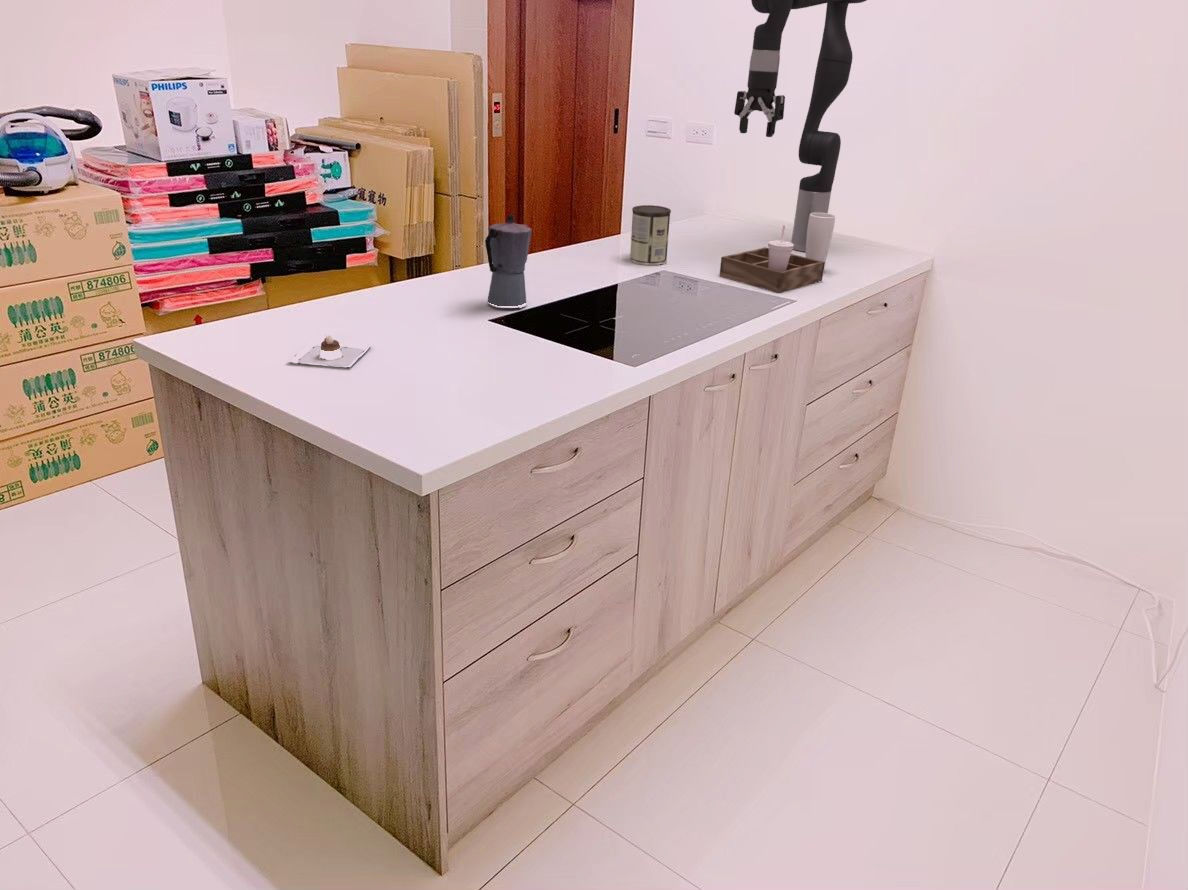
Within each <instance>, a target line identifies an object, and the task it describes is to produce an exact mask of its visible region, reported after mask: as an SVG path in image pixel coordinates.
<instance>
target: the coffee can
mask: <svg viewBox="0 0 1188 890" xmlns="http://www.w3.org/2000/svg"><path fill="white" fill-rule="evenodd" d="M631 208H632V209H631V210H632V219H631V232H630V233H631V234H630V236H631V237H630V250H629V251H630V252H629V253H630V254H629V261H630V262H631V263H633V264H636V265H641V266H650V265H654V266H661V265H660V264H662V265H665V264H666V263H667V262H668V261H667V258H668V246H669V245H668V243H669V231H670V219H671V212H672V210H671V209H670V208H669V207H666V206H660V205H652V204H648V205H647V204H646V205H645V204H644V205H636V206H633V207H631ZM664 263H665V264H664Z"/></svg>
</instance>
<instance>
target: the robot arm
mask: <svg viewBox="0 0 1188 890" xmlns="http://www.w3.org/2000/svg"><path fill="white" fill-rule="evenodd" d="M866 1H867V0H751V6H752V7H753V9H754V10H755V11H756V12H758V13H760V14H768V15H767V18H766V20H765V22H764V23H761V24H759V25H756V26H755V28H754V31H753V32H754V33H753V40H752V41H753V42H752V50H751V55H750V57H749V58H750V60H749V67H748V77H747V85H746V86H747V88H748V89H747V91H745V90H738V91H737V93H736V98H735V106H734V111H733V113H734V115H735V116H738V117H739V128H738V130H739V134H747V133H748V125H749V117H750V115H751V113H753V112H754V111H758V112H763V114H764V115H765V116H766V119H767V124H766V131H765V137H766V138H773V136H774V135H775V132H776V125H777V122H779V121H782V120H783V119H784V115H785V113H784V111H785V103H786V97H785V95H781V94H780V95H776V93H775V91H776V89H777V85H778V77H779V69H780V68H779V67H780V61H781V60H780V59H781V58H780V57H781V53H780V52H781V51H780V50H781V45H782V39H783V37H782V35H783V33H784V32H783V31H784V29H785V27H786V23H787V21H788V19H789V16H790V13H791V10H799V9H800V10H801V9H806V8H810V7H815V6H819V5H824V4H826V10H825V12H826V13H825V17H824V18H825V19H824V27H823V33H822V39H821V43H820V44H821V45H820V49H819V54H818V58H817V63H816V69H815V74H814V79H813V86H812V91H811V97H810V101H809V107H808V112H807V114H806V119H805V122H804V126H803V130H802V133H801V138H800V140H799V146H798V160H799V161H800V163H801V164H806V165H813V166H820V170H819V172H817V173H815V174H813V175H808V176H805V177H802V178H801V179H800V181H799V187H798V194H797V201H796V208H795V214H794V222H793V227H792V235H791V242H790V243H792V244H794V247H793V249H792V250H795V251H799V252H805V253H806V240H807V228H808V221H809V216H810V214H811V213H828V214H829V209H830V208H829V207H830V202H831V197H832V196H831V195H832V190H833V189H832V188H833V184H834V180H835V176H836V171H837V165H838V161H839V156H840V151H841V146H842V145H841V144H842V142H841V140H842V139H841V136H840V134H839V133H837V132H831V131H821V130H819V128H820V125H821V122H822V119H823V117H824V115H825V113H826V112H827V110H828V109H829V108H830V107H831V105H832V104H833V103H834V102H835V100H836V99H838V97H839V96H841V93H842V92H844V89H845V88H846V87H847V84H848V82H849V80H850V79H849V78H850V73H851V70H852V64H853V50H852V46H851V42H850V40H849V36H848V32H847V28H846V20H847V12H848V8H849V7H848V6H849V4H850V5H851V4H861V3H864V2H866ZM746 100H747V102H746ZM773 103H774V104H773Z"/></svg>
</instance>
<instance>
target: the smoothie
mask: <svg viewBox="0 0 1188 890" xmlns="http://www.w3.org/2000/svg"><path fill="white" fill-rule="evenodd" d="M785 229H786V225H784V224H782V229H781V234H780V235H781V237H780V240H778V239H777V240H770V241H768V243H767V248H769V265H768V268H769V269H773V270H777V271H780V272H782V271H786V269H787V265H788V262H789V258H790V255H791V254H792V251H793V250H794V249H793V247H794V244H792V243H791V242H790V241H786V240H784V238H785V237H784V235H785V231H786V230H785Z"/></svg>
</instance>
